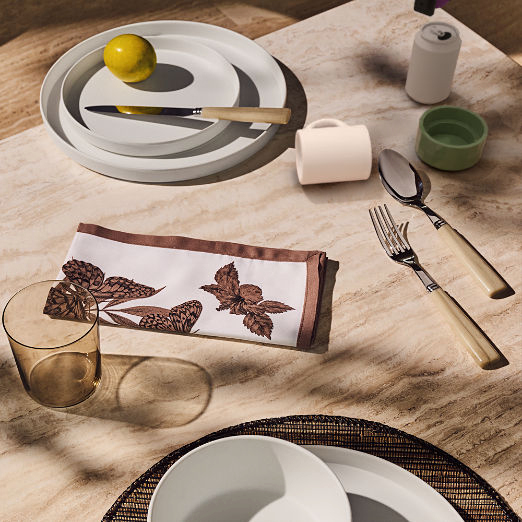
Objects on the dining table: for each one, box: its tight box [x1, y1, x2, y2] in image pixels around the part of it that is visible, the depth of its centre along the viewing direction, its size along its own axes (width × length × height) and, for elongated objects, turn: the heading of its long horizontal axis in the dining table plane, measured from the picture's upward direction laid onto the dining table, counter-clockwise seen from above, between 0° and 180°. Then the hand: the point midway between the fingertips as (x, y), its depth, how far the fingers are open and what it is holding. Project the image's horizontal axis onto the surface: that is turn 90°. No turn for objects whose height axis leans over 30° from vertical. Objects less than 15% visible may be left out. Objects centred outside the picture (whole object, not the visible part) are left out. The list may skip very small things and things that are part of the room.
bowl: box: [413, 104, 489, 172], centre depth 104 cm, size 10×10×5 cm
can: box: [404, 20, 463, 105], centre depth 112 cm, size 8×8×12 cm
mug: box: [294, 117, 373, 185], centre depth 101 cm, size 12×10×8 cm
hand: (433, 4), depth 102 cm, fingers closed on ball, 4 cm apart
